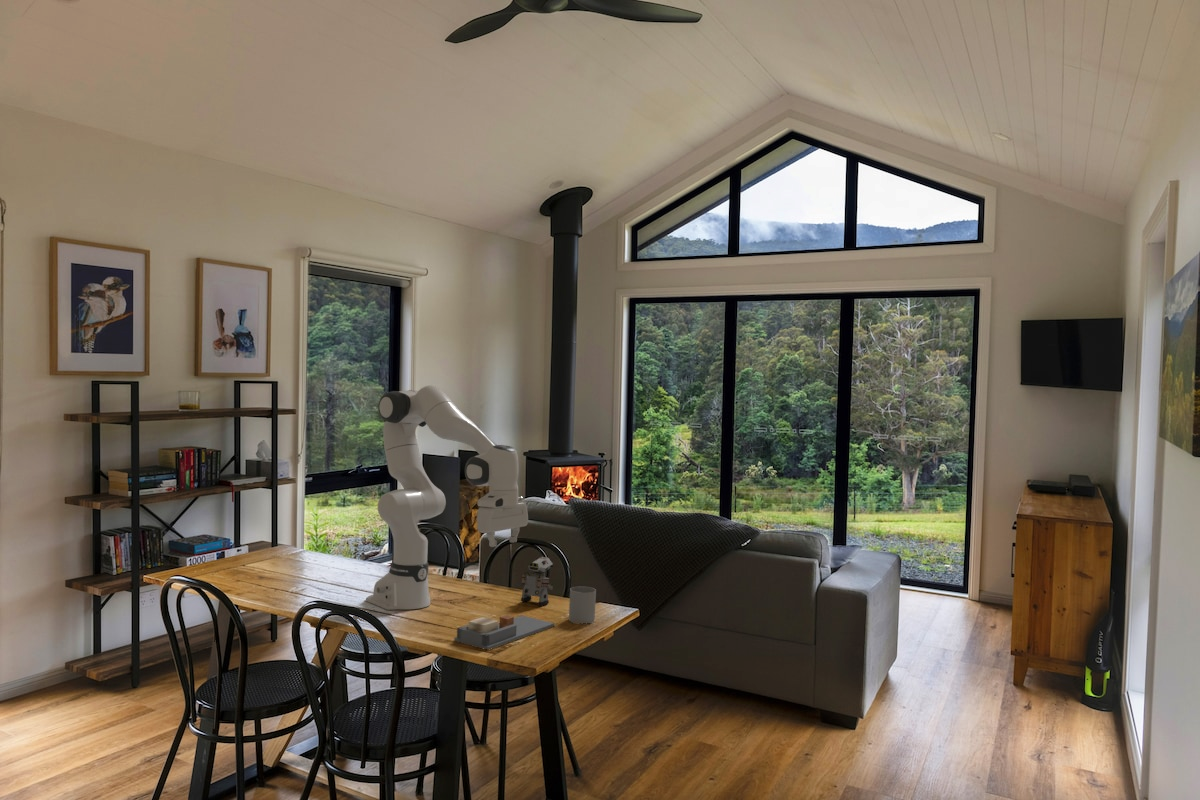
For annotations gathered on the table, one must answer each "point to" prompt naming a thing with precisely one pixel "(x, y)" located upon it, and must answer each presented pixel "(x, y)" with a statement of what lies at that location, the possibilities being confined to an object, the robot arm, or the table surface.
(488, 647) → the grey slider tray
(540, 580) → the figurine
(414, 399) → the robot arm
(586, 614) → the cup
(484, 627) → the block
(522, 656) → the table surface
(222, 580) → the table surface
